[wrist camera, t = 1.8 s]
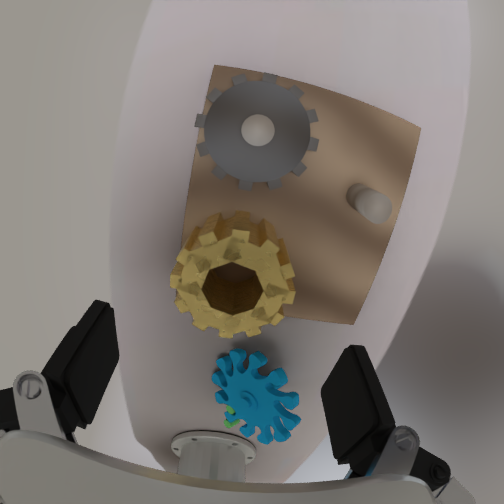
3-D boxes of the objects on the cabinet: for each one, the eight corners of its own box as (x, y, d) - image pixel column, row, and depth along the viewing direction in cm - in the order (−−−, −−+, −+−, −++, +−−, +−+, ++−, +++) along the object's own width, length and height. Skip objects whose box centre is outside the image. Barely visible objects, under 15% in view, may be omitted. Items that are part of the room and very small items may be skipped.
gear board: (349, 316, 23) (366, 351, 19) (178, 288, 22) (164, 323, 18) (412, 127, 17) (449, 129, 13) (215, 68, 16) (205, 48, 11)
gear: (236, 329, 22) (314, 426, 17) (279, 314, 26) (347, 392, 21) (192, 387, 27) (246, 460, 22) (231, 370, 31) (281, 433, 27)
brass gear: (299, 286, 21) (309, 318, 17) (210, 315, 22) (203, 349, 18) (266, 194, 18) (271, 209, 14) (167, 233, 19) (148, 256, 15)
